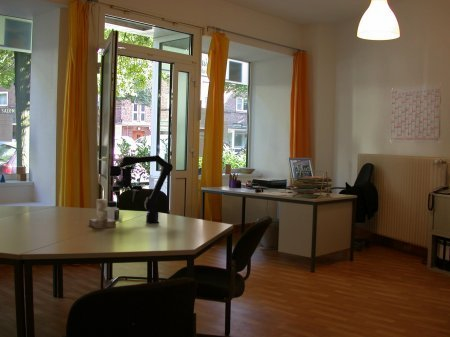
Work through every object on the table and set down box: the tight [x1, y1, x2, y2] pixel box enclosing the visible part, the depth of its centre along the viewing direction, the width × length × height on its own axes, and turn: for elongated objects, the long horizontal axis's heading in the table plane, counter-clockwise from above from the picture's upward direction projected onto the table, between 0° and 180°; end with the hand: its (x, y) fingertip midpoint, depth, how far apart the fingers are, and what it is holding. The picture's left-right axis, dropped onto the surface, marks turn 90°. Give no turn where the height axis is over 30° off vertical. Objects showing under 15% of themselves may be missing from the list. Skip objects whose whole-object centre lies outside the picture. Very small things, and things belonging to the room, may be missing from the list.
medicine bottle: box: [107, 200, 120, 222], centre depth 303 cm, size 7×7×12 cm
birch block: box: [95, 198, 108, 221], centre depth 282 cm, size 5×5×12 cm
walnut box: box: [88, 218, 117, 230], centre depth 282 cm, size 12×12×4 cm
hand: (126, 202), depth 293 cm, fingers open, 9 cm apart
